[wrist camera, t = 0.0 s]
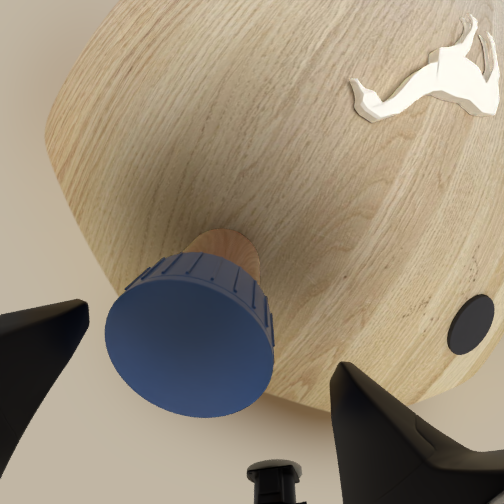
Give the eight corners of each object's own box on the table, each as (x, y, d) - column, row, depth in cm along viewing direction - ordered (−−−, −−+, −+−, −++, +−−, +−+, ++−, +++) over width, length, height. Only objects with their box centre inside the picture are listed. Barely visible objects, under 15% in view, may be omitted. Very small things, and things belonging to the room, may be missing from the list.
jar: (268, 289, 21) (274, 392, 10) (200, 306, 21) (157, 406, 11) (247, 218, 19) (232, 271, 9) (175, 240, 20) (99, 305, 9)
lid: (286, 359, 13) (292, 406, 10) (167, 380, 14) (150, 421, 11) (248, 231, 11) (243, 253, 8) (114, 271, 12) (77, 299, 9)
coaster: (486, 337, 22) (489, 339, 21) (444, 361, 23) (446, 364, 22) (494, 285, 20) (497, 287, 20) (450, 308, 21) (453, 311, 20)
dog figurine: (413, -31, 10) (342, 94, 15) (506, 52, 11) (467, 199, 16) (406, -23, 12) (335, 101, 17) (496, 56, 13) (454, 196, 18)
